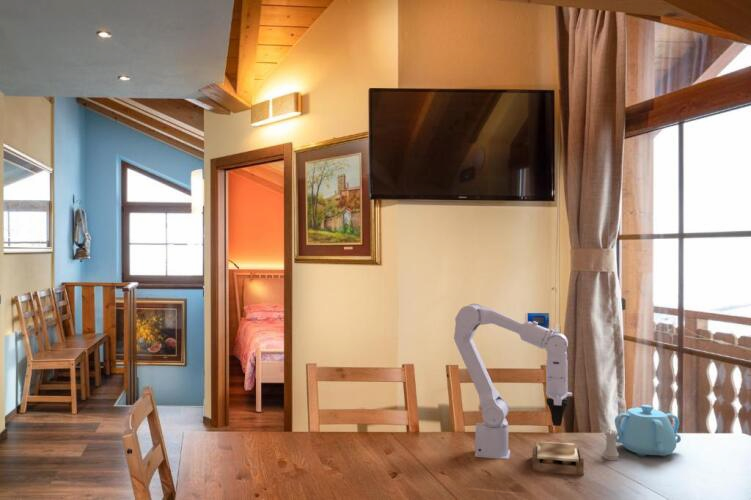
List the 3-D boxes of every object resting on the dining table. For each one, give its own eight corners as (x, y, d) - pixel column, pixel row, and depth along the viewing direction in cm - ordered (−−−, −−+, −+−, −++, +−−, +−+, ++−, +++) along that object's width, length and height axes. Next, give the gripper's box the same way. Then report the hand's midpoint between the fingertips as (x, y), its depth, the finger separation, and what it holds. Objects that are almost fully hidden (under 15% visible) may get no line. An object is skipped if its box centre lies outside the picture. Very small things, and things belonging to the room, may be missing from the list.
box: (532, 471, 166) (532, 454, 166) (532, 458, 176) (532, 442, 176) (583, 476, 162) (583, 458, 162) (580, 462, 173) (580, 445, 173)
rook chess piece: (620, 462, 174) (620, 433, 174) (604, 461, 174) (604, 432, 174) (617, 457, 178) (617, 429, 178) (601, 456, 179) (601, 428, 179)
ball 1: (542, 468, 167) (542, 457, 167) (542, 464, 170) (542, 453, 170) (553, 469, 167) (553, 458, 167) (553, 465, 170) (553, 454, 170)
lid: (537, 458, 166) (537, 446, 166) (537, 447, 175) (537, 436, 175) (578, 461, 163) (578, 450, 163) (576, 450, 172) (576, 439, 172)
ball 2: (561, 466, 169) (561, 455, 169) (560, 463, 172) (560, 452, 172) (572, 467, 168) (572, 456, 168) (572, 464, 171) (572, 453, 171)
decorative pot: (688, 453, 181) (688, 407, 181) (659, 464, 172) (659, 415, 172) (636, 440, 194) (636, 396, 194) (606, 449, 185) (606, 403, 185)
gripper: (573, 382, 165) (573, 433, 165) (570, 372, 179) (570, 419, 179) (545, 381, 167) (545, 431, 167) (545, 371, 181) (545, 417, 181)
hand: (556, 425), depth 173 cm, fingers closed
